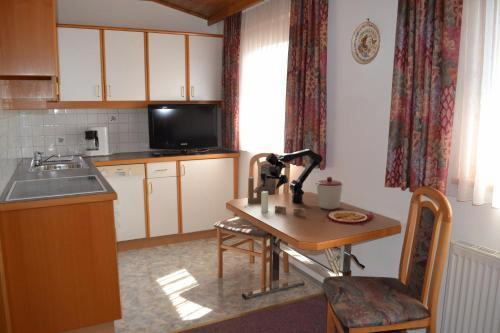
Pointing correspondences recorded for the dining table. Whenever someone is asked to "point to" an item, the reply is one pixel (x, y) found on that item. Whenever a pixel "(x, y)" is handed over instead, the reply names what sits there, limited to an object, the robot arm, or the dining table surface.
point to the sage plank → (264, 201)
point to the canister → (329, 193)
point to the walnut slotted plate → (296, 211)
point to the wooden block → (254, 191)
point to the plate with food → (348, 217)
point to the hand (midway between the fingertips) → (269, 187)
